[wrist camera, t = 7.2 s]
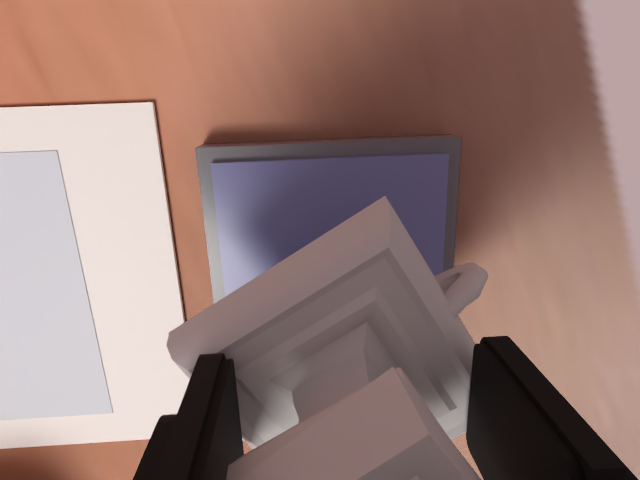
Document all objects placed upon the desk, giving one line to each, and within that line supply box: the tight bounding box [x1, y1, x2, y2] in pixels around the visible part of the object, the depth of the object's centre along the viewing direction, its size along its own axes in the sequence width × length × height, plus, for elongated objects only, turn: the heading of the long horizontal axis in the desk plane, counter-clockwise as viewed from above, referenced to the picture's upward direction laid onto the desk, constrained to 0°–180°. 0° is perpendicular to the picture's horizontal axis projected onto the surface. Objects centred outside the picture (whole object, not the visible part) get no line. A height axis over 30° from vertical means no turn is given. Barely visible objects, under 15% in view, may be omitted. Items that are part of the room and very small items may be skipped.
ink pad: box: [195, 135, 462, 304], centre depth 17 cm, size 9×11×2 cm
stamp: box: [166, 196, 488, 480], centre depth 10 cm, size 9×7×8 cm
